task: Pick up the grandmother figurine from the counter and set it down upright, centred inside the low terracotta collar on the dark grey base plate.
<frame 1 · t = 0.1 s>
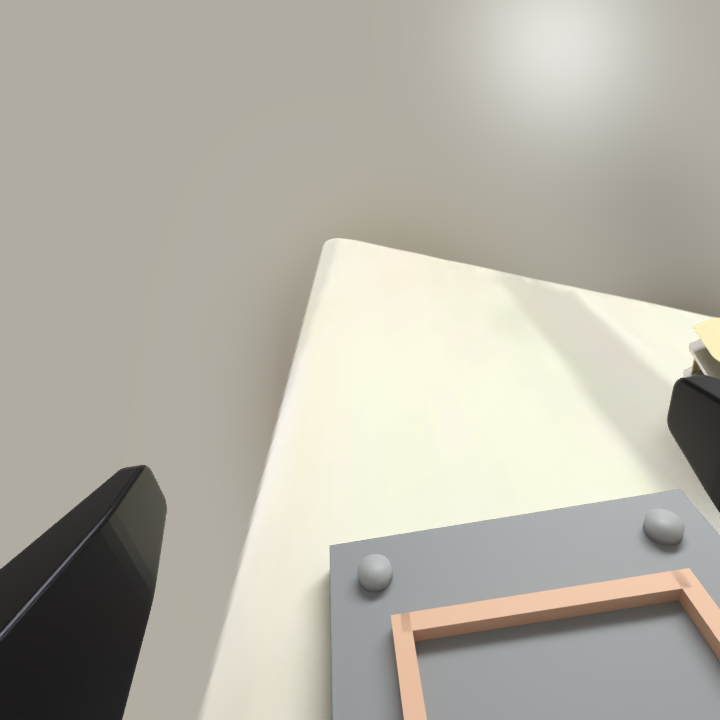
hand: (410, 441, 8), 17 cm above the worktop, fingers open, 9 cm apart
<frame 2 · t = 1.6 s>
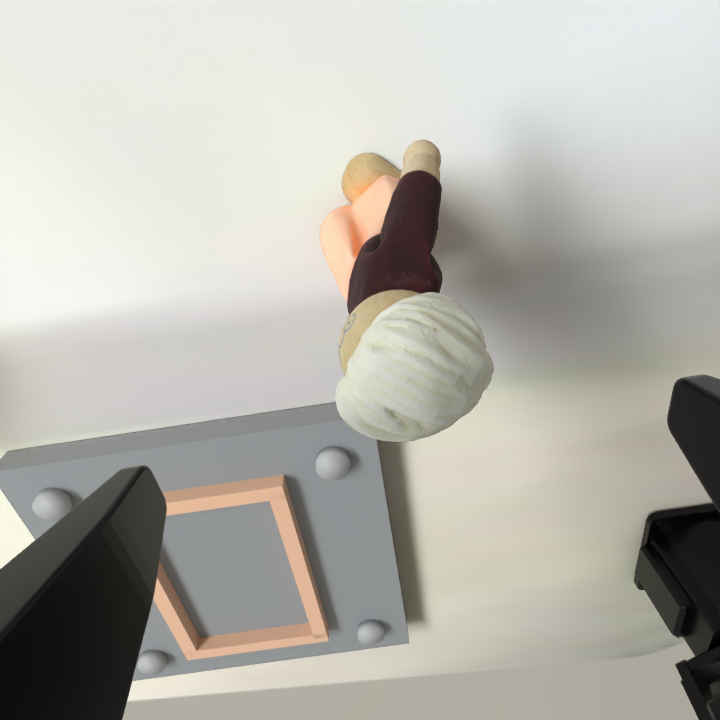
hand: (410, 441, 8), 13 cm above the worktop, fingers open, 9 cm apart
base plate: (236, 548, 28), on the worktop
grandmother figurine: (367, 228, 20), on the worktop
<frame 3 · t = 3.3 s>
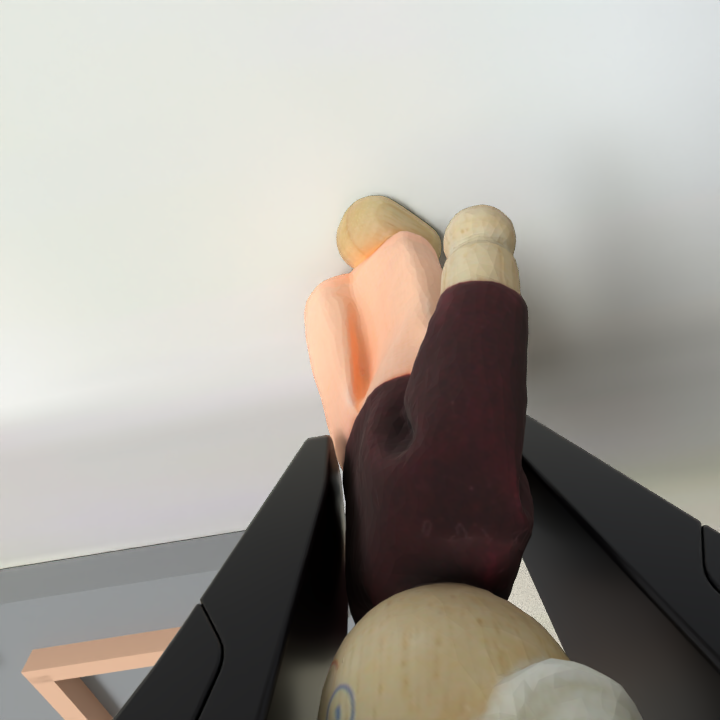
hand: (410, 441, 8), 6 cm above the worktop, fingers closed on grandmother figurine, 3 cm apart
base plate: (208, 679, 22), on the worktop
grandmother figurine: (375, 299, 14), on the worktop, touching gripper
when the fingers open (8 cm above the worktop, at t = 7.5 s): grandmother figurine stays where it is, resting on base plate.
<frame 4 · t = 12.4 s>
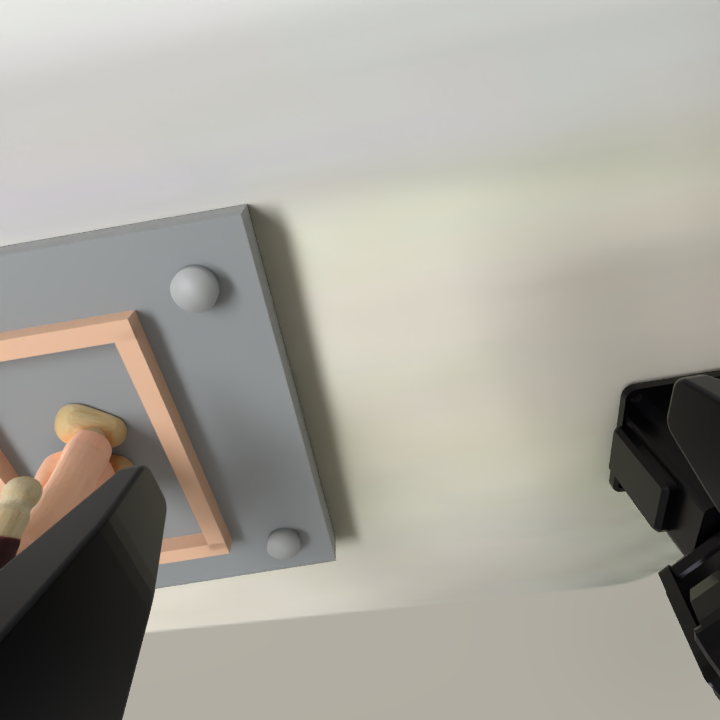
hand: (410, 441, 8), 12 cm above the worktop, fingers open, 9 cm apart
base plate: (106, 435, 23), on the worktop
grandmother figurine: (100, 453, 21), point 1 cm above the worktop, touching base plate
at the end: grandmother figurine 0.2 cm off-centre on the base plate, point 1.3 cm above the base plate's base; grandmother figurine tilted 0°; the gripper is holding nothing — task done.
